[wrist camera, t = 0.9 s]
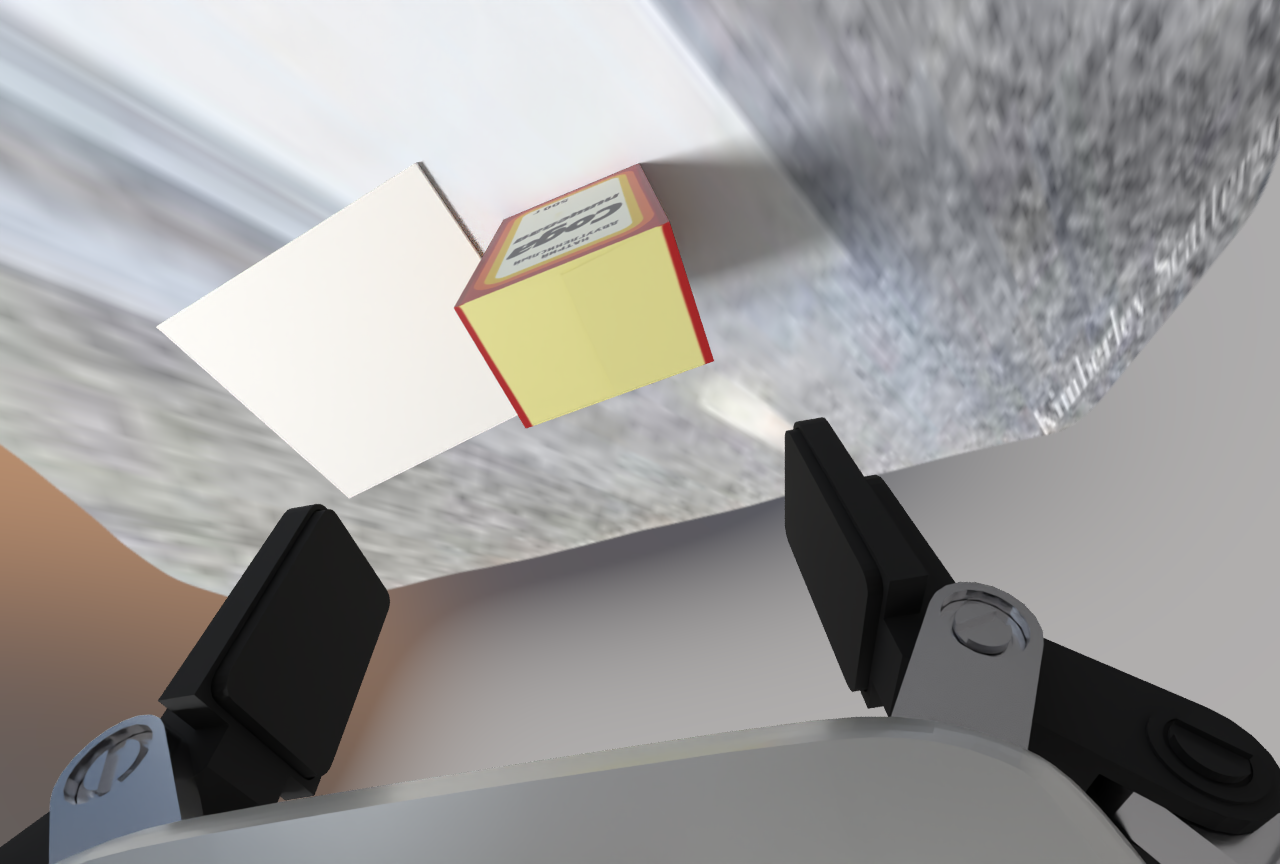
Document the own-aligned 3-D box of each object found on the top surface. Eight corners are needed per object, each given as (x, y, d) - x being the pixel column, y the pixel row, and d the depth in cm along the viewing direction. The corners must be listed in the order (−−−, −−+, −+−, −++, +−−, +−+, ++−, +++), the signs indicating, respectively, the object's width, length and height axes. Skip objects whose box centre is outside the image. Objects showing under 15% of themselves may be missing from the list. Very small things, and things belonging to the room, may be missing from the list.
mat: (417, 162, 33) (415, 163, 33) (569, 387, 42) (569, 389, 42) (160, 324, 37) (155, 326, 37) (350, 495, 47) (349, 498, 46)
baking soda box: (547, 308, 39) (525, 433, 26) (503, 219, 35) (451, 311, 22) (671, 260, 37) (715, 364, 24) (639, 163, 34) (670, 223, 21)
